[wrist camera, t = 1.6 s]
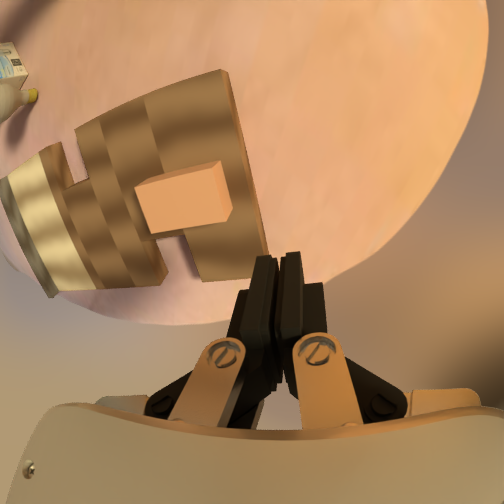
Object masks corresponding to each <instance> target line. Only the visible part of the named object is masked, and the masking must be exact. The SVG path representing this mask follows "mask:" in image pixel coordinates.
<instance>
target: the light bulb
mask: <svg viewBox="0 0 504 504" xmlns="http://www.w3.org/2000/svg"><path fill="white" fill-rule="evenodd" d="M37 95H38V93H37V90H36V89H35V88H33V89H29V90H18V89H16V88H15V87H14V86H12V85H10V84H7V83H2V84H0V123H2V122H4V121H5V120H7V119H8V118H9V117H10V116H11V115H12V114H13V113H14V111H15V110H16V109H17V108H18V107H20V106H23V105H26V104H28V103H32V102H34V101H35V100H36V99H37Z"/></svg>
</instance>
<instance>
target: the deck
mask: <svg viewBox="0 0 504 504" xmlns="http://www.w3.org/2000/svg"><path fill="white" fill-rule="evenodd" d="M74 130H75V134H76V137H77V141H78V144H79V148H80V151H81V154H82V157H83V160H84V164H85V167H86V170H87V173H88V176H89V178H87V179H85V180H83V181H80V182H78V183H76V184H74V181H73V178H72V175H71V172H70V169H69V166H68V163H67V160H66V157H65V153H64V150H63V147H62V143H61V142H58V143H56V144H53V145H50V146H48V147H46V148H44V149H43V150H41V151H40V152H38V153H37V154H35V155H34V156H33V157H31V158H30V159H28V160H27V161H26V162H24V163H23V164H22V165H20V166H19V167H18V168H16V169H15V170H14V171H13V172H11V173H10V174H9V175H8V176H6V177H4V178H2V179H0V198H1V201H2V204H3V207H4V209H5V212H6V214H7V217H8V219H9V222H10V224H11V226H12V229H13V231H14V233H15V236H16V238H17V240H18V242H19V244H20V246H21V248H22V250H23V253H24V255H25V256H26V258H27V260H28V262H29V264H30V266H31V268H32V270H33V272H34V274H35V275H36V277H37V279H38V281H39V282H40V284H41V286H42V288H43V289H44V291H45V293H46V294H47V296H48V298H54V296H55V295H56V294H57V293H58V292H59V291H73V290H94V289H113V288H130V287H146V286H160V285H161V283H162V282H163V280H164V279H165V277H166V275H167V274H168V270H167V267H166V265H165V263H164V260H163V258H162V255H161V253H160V251H159V248H158V246H157V243H156V241H155V239H159V238H165V237H171V236H178V235H184V234H185V237H186V240H187V242H188V245H189V248H190V251H191V254H192V256H193V259H194V262H195V264H196V267H197V270H198V273H199V275H200V278H201V280H202V282H214V281H225V280H237V279H248V278H252V274H253V270H254V265H255V261H256V257H257V256H262V255H269V251H268V246H267V242H266V237H265V232H264V228H263V223H262V218H261V214H260V209H259V205H258V200H257V196H256V191H255V187H254V182H253V178H252V173H251V169H250V164H249V160H248V156H247V151H246V147H245V143H244V138H243V134H242V130H241V125H240V121H239V117H238V113H237V108H236V104H235V100H234V96H233V92H232V88H231V83H230V79H229V75H228V72H226V71H224V70H221V69H219V70H215V71H212V72H208V73H205V74H201V75H198V76H195V77H192V78H189V79H186V80H183V81H180V82H177V83H174V84H171V85H168V86H166V87H163V88H160V89H158V90H155V91H153V92H150V93H148V94H145V95H143V96H140V97H138V98H136V99H133V100H131V101H129V102H127V103H124V104H122V105H120V106H118V107H116V108H114V109H112V110H110V111H108V112H106V113H104V114H102V115H100V116H98V117H96V118H94V119H92V120H90V121H89V122H87V123H85V124H83V125H81V126H80V127H78V128H76V129H74ZM219 160H221V164H222V168H223V172H224V176H225V180H226V184H227V188H228V191H229V195H230V199H231V203H232V207H233V209H232V211H231V213H230V215H229V217H228V219H227V221H226V222H219V223H213V224H207V225H200V226H194V227H188V228H182V229H176V230H170V231H164V232H158V233H153V234H151V232H150V229H149V227H148V224H147V221H146V219H145V216H144V213H143V211H142V208H141V205H140V202H139V200H138V197H137V194H136V191H135V188H134V187H136V186H137V185H139V184H140V183H142V182H143V181H145V180H146V179H148V178H151V177H154V176H158V175H161V174H165V173H169V172H173V171H176V170H180V169H184V168H188V167H193V166H197V165H201V164H205V163H210V162H214V161H219Z"/></svg>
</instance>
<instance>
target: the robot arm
mask: <svg viewBox="0 0 504 504" xmlns="http://www.w3.org/2000/svg"><path fill="white" fill-rule="evenodd" d="M283 370H284V374H285V379H286V383H288V387H289V391H290V394H292V395H293V396H294V397H295V398H296V399H298V400H299V406H300V413H301V421H302V429H303V430H256V428H257V425H258V421H259V419H260V415H261V412H262V409H263V406H264V398H266V397H267V396H268V395H269V394H271V391H276V388H277V383H282V378H283ZM6 504H504V411H502V410H500V409H496V408H491V407H484V406H481V403H480V399H479V396H478V395H477V394H476V392H474V391H473V390H471V389H466V388H459V389H438V390H413V391H412V393H403V392H402V391H401V390H399V389H398V388H396V387H395V386H393V385H391V384H390V383H388V382H386V381H384V380H383V379H381V378H380V377H378V376H376V375H374V374H373V373H371V372H369V371H368V370H366V369H365V368H363V367H361V366H360V365H358V364H356V363H355V362H353V361H351V360H350V359H348V358H346V357H345V356H344V354H343V351H342V347H341V345H340V343H339V341H338V340H337V339H336V338H335V337H334V336H332V335H330V334H328V333H327V322H326V311H325V301H324V291H323V283H322V282H320V283H311V284H305V283H304V276H303V268H302V261H301V254H300V251H298V252H289V253H286V257H281V262H280V271H279V266H278V261H277V258H272V256H271V255H262V256H257V257H256V261H255V265H254V270H253V274H252V278H251V283H250V287H249V289H246V290H240V291H239V293H238V296H237V300H236V303H235V307H234V311H233V314H232V318H231V322H230V325H229V329H228V332H227V336H226V338H221V339H217V340H215V341H213V342H211V343H210V344H209V345H208V346H206V348H205V349H204V350H203V352H202V354H201V356H200V358H199V360H198V362H197V364H196V365H195V368H194V370H192V371H191V372H189V373H187V374H186V375H185V376H183V377H181V378H179V379H178V380H176V381H174V382H173V383H171V384H169V385H168V386H166V387H164V388H163V389H161V390H159V391H158V392H156V393H155V394H153V395H152V396H151V397H148V396H147V395H133V396H106V397H102V398H101V399H99V400H98V401H97V402H96V403H95V404H90V403H66V404H61V405H57V406H55V407H52V408H51V409H49V410H48V411H47V412H46V413H45V414H44V415H43V417H42V418H41V420H40V421H39V423H38V425H37V426H36V428H35V430H34V432H33V434H32V435H31V437H30V440H29V442H28V444H27V446H26V449H25V450H24V452H23V455H22V457H21V460H20V462H19V465H18V467H17V470H16V473H15V475H14V478H13V481H12V484H11V487H10V491H9V494H8V497H7V501H6Z"/></svg>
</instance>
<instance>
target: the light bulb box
mask: <svg viewBox="0 0 504 504" xmlns="http://www.w3.org/2000/svg"><path fill="white" fill-rule="evenodd" d="M27 76H28V73H27V71H26V69H25V67H24V65H23V63H22V61H21V59H20V57H19V55H18V53H17V51H16V49H15V47H14V44H13V42H7V43H0V84H2V83H7V84H10V85H12V86H14V87H15V88H16V89H18V90H20V88H21V86H22V84H23V82H24V81H25V79H26V77H27Z"/></svg>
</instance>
